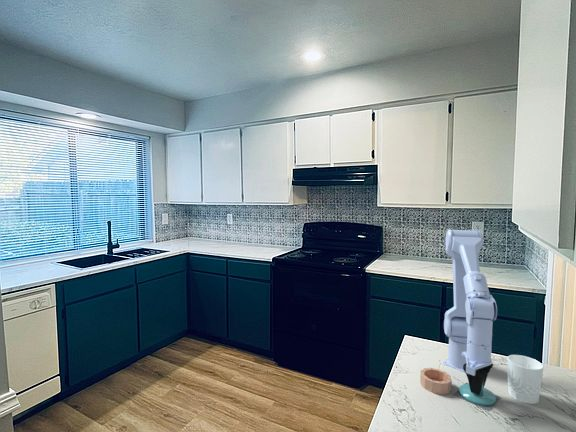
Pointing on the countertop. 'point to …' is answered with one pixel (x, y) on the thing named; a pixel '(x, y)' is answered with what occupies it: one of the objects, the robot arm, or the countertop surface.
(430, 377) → the bowl
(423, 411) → the countertop surface
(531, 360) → the white cup
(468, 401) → the mat
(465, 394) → the lid
